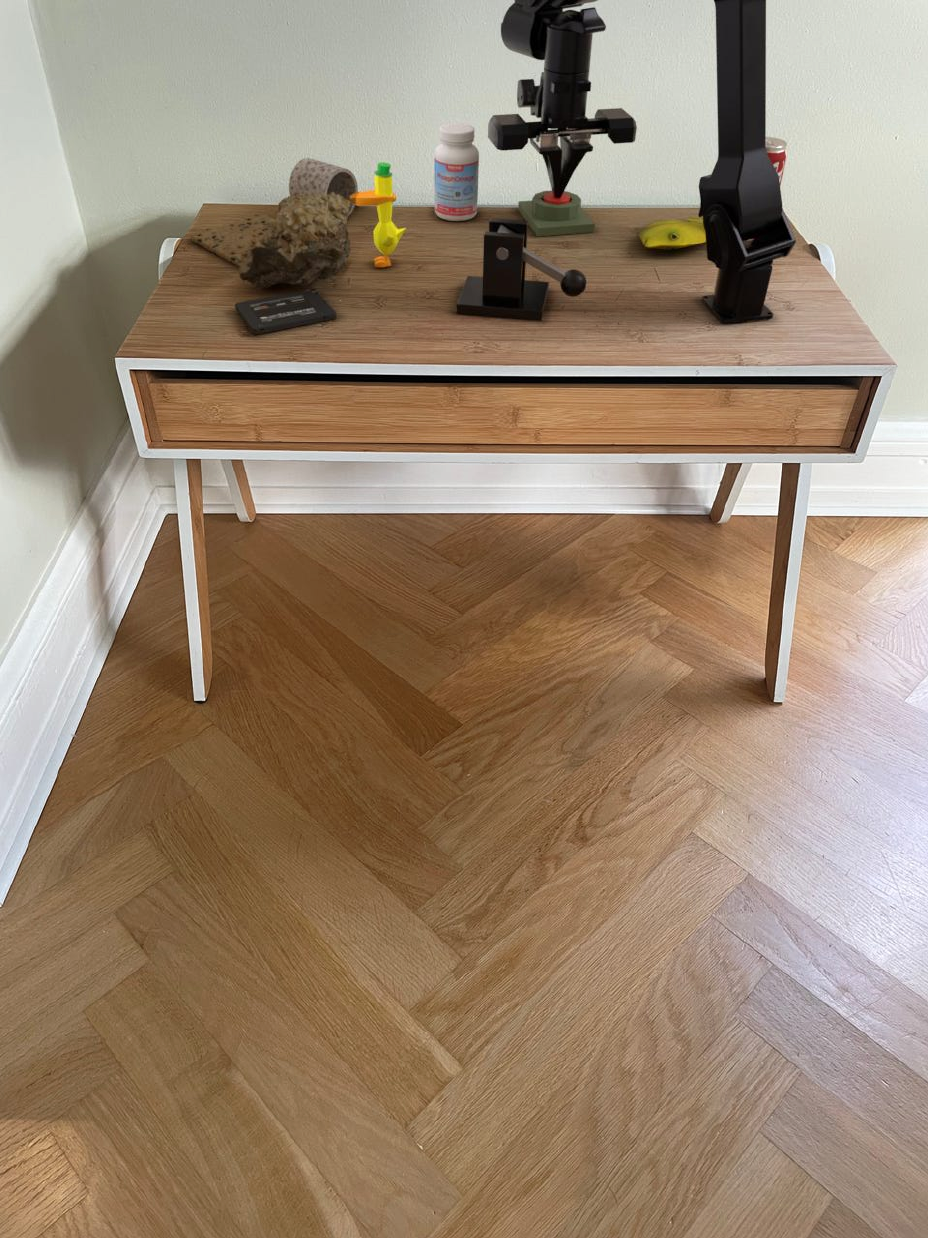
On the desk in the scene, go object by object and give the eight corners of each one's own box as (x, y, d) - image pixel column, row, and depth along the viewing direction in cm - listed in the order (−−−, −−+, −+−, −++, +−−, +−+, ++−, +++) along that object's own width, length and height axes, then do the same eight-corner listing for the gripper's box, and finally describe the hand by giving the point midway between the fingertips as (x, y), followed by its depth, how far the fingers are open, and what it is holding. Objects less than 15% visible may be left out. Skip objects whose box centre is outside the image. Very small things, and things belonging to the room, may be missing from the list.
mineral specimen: (270, 221, 122) (256, 148, 113) (368, 231, 121) (361, 159, 112) (239, 297, 114) (221, 225, 106) (343, 309, 113) (333, 238, 105)
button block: (593, 232, 128) (596, 209, 126) (537, 236, 127) (538, 213, 125) (571, 205, 136) (573, 183, 133) (518, 209, 134) (519, 187, 132)
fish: (623, 231, 121) (698, 241, 117) (666, 203, 132) (736, 211, 128) (621, 254, 123) (695, 264, 119) (664, 224, 134) (733, 233, 130)
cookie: (318, 243, 125) (317, 235, 124) (241, 268, 119) (240, 261, 118) (266, 217, 131) (265, 209, 130) (189, 240, 125) (188, 232, 124)
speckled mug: (284, 203, 130) (319, 215, 127) (294, 152, 128) (330, 162, 125) (331, 217, 138) (365, 228, 135) (342, 169, 136) (377, 179, 133)
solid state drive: (253, 329, 105) (253, 334, 105) (337, 312, 108) (337, 318, 109) (233, 302, 109) (234, 308, 110) (315, 288, 113) (315, 293, 113)
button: (572, 213, 129) (573, 200, 128) (547, 215, 129) (547, 202, 128) (564, 204, 132) (565, 191, 131) (539, 205, 131) (540, 192, 130)
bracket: (548, 291, 115) (553, 217, 109) (541, 320, 109) (547, 244, 103) (467, 284, 116) (468, 211, 110) (456, 313, 110) (456, 237, 104)
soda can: (765, 230, 130) (786, 135, 121) (770, 245, 126) (792, 148, 118) (726, 228, 130) (745, 134, 122) (731, 243, 126) (750, 147, 118)
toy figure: (356, 271, 118) (349, 170, 110) (353, 260, 120) (346, 160, 112) (409, 267, 119) (406, 167, 111) (405, 256, 121) (402, 157, 113)
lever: (578, 294, 112) (592, 273, 110) (576, 305, 110) (590, 284, 108) (490, 243, 109) (503, 220, 107) (487, 253, 107) (499, 230, 105)
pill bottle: (434, 222, 130) (433, 134, 123) (435, 205, 135) (434, 120, 127) (477, 222, 130) (479, 135, 123) (477, 206, 135) (479, 120, 127)
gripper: (615, 49, 126) (602, 172, 136) (479, 55, 123) (477, 181, 133) (645, 71, 118) (629, 200, 128) (500, 78, 115) (496, 209, 125)
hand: (556, 196), depth 129 cm, fingers closed, pressing on button
